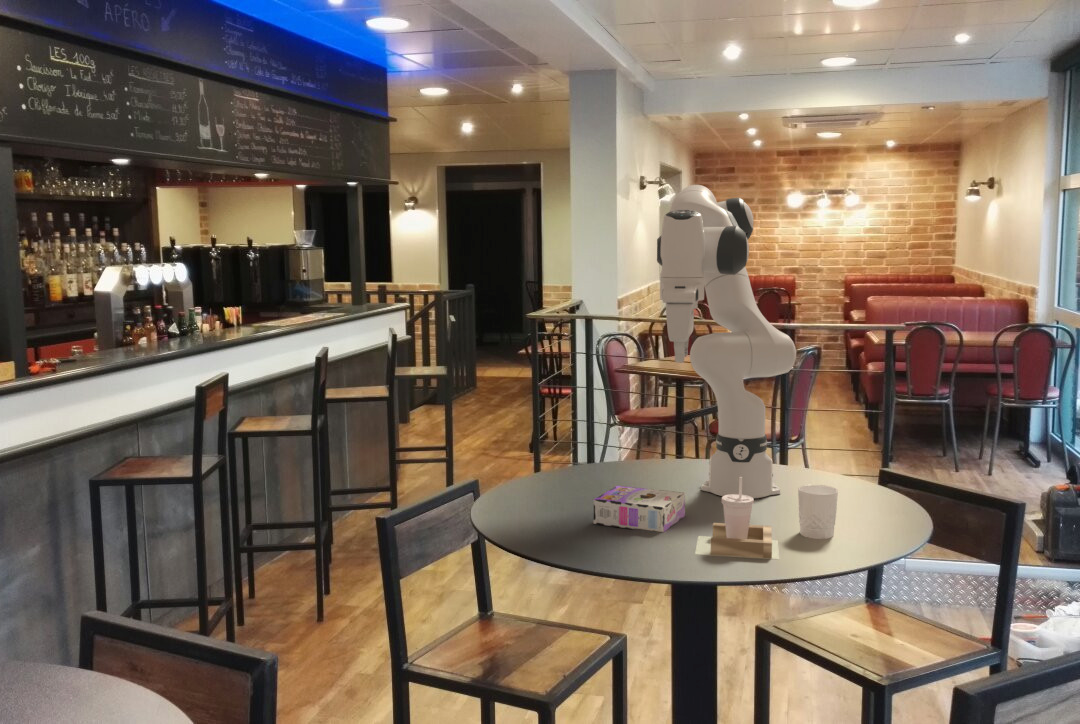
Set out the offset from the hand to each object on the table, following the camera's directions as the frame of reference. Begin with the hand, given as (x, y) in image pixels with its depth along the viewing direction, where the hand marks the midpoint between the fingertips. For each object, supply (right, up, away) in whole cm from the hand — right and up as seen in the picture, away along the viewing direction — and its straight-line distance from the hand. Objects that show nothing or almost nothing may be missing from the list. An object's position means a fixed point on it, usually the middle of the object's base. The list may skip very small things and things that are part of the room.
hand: (681, 359), depth 204 cm
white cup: (+29, -37, +4) cm, 47 cm away
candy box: (-14, -32, +19) cm, 40 cm away
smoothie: (+11, -38, -3) cm, 39 cm away
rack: (+10, -37, -5) cm, 39 cm away
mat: (+10, -38, -4) cm, 40 cm away
